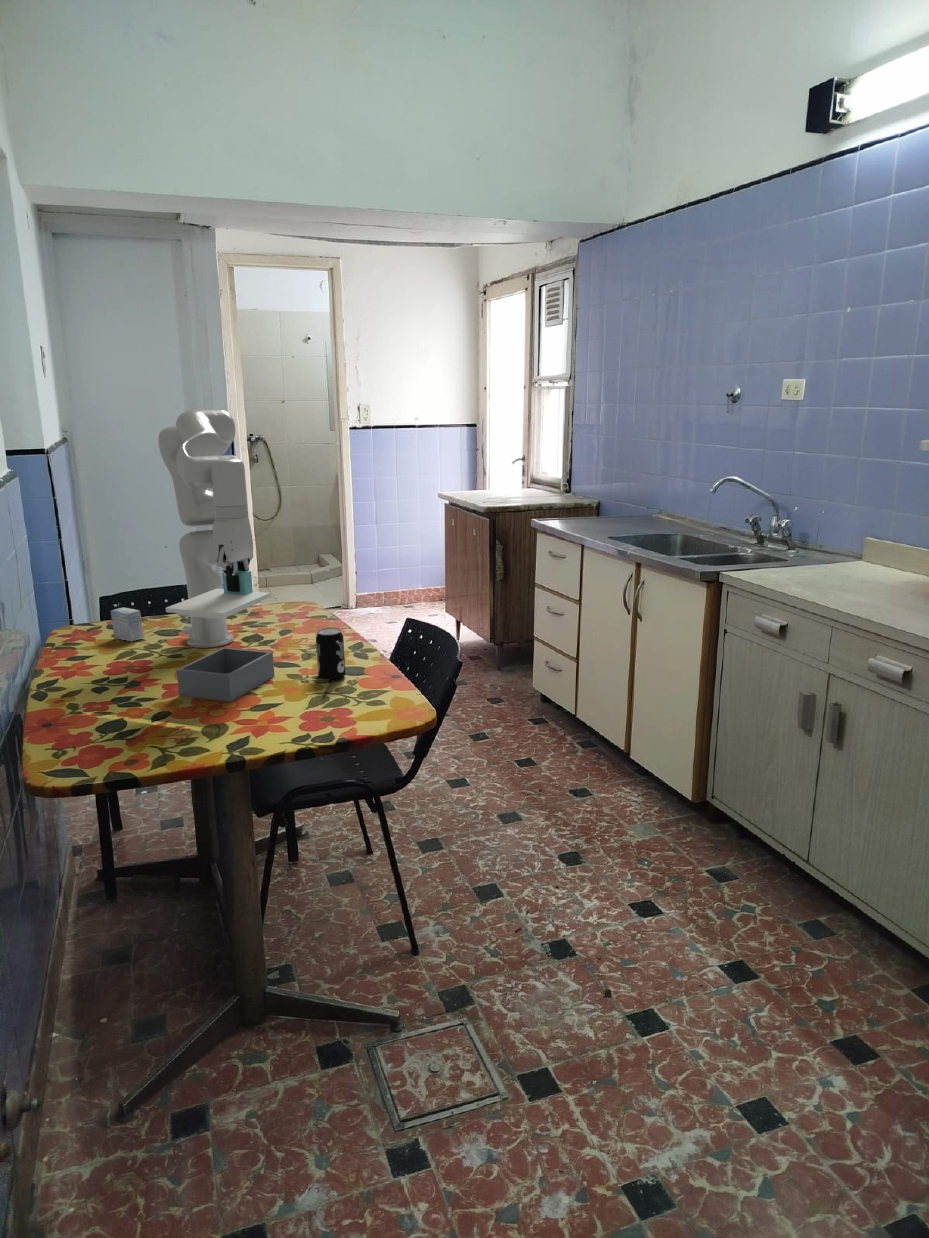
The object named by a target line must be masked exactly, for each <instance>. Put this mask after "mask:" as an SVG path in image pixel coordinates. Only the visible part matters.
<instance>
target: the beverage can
mask: <svg viewBox="0 0 929 1238" xmlns="http://www.w3.org/2000/svg"><path fill="white" fill-rule="evenodd" d="M316 633H317V635H316V636H315V648H316V660H317V661H316V663H317V664H316V665H317V677H318V678H319V679H322V680H328V681H333V682H337V681H341V680H343V679H344V677H345V676H346V662H345V661H346V660H345V659H346V658H345V644H344V643H345V642H344V641H345V640H344V634H343V633H342V629H340V628H338V627H324V628H320V629H317V631H316Z"/></svg>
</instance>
